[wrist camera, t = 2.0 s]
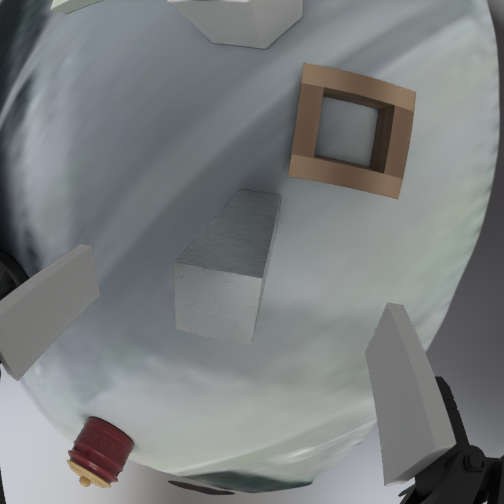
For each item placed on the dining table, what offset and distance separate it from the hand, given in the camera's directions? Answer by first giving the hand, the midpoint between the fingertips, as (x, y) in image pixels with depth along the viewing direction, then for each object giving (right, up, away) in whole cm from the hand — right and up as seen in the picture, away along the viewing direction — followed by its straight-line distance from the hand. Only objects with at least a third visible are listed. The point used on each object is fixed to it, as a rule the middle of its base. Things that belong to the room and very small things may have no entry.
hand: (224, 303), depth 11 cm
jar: (+1, +22, +5) cm, 23 cm away
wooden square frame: (+8, +12, +9) cm, 17 cm away
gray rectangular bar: (+2, +5, +12) cm, 14 cm away
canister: (-33, -41, +39) cm, 65 cm away
